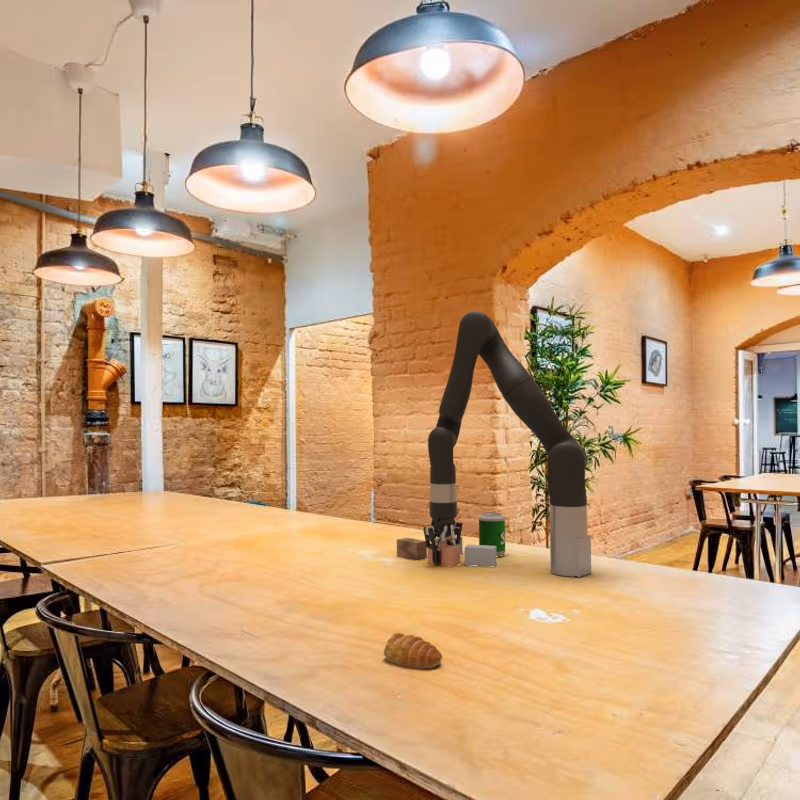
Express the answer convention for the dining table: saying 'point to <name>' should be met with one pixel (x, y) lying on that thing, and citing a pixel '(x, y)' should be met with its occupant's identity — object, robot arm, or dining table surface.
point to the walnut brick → (411, 548)
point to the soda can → (492, 531)
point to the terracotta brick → (446, 555)
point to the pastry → (411, 652)
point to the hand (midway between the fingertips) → (443, 562)
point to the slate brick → (456, 545)
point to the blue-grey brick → (480, 555)
